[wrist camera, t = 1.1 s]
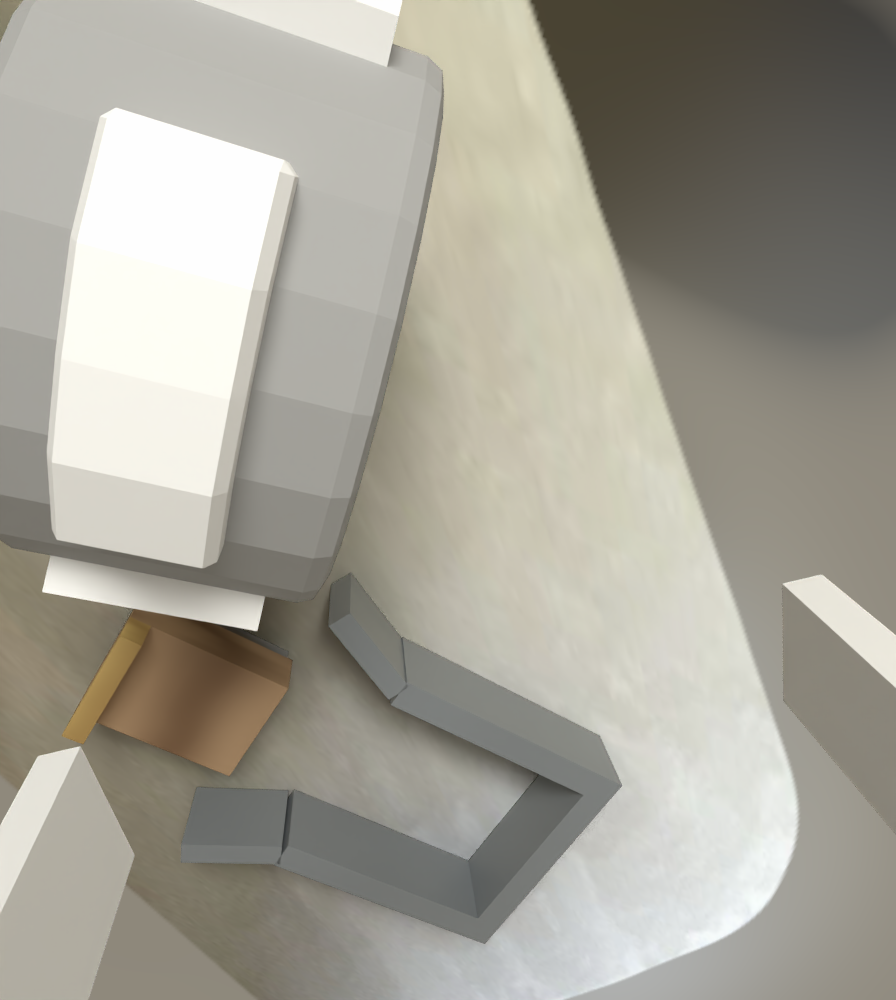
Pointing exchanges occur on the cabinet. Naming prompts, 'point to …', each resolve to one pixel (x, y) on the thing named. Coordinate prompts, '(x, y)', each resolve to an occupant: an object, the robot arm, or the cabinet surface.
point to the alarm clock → (201, 287)
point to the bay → (394, 856)
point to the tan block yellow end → (185, 688)
